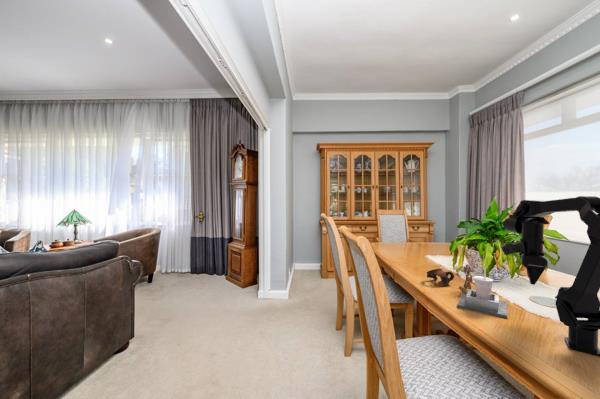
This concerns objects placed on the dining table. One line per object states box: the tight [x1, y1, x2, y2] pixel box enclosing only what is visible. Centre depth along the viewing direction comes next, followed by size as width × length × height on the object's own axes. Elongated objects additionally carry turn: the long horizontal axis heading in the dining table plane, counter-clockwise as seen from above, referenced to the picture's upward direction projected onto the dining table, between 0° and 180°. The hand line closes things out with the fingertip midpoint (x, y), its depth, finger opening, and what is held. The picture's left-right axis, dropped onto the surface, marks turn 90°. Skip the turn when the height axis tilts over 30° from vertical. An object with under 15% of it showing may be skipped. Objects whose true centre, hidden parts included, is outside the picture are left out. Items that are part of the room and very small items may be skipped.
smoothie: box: [472, 266, 495, 300], centre depth 103 cm, size 6×6×14 cm
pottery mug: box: [426, 268, 455, 288], centre depth 129 cm, size 12×10×8 cm
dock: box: [457, 288, 508, 319], centre depth 103 cm, size 15×15×4 cm
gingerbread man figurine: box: [458, 263, 473, 294], centre depth 118 cm, size 9×4×12 cm, turn 168°
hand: (531, 280), depth 93 cm, fingers open, 9 cm apart
